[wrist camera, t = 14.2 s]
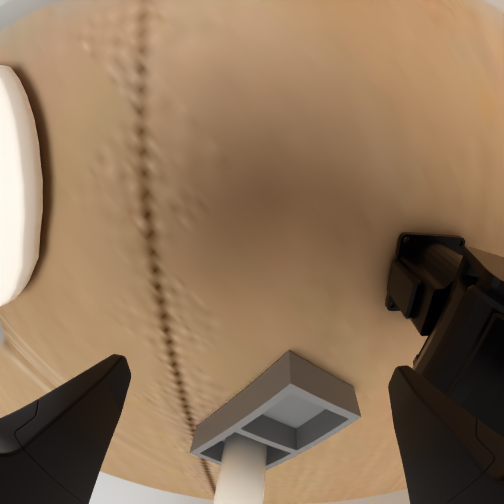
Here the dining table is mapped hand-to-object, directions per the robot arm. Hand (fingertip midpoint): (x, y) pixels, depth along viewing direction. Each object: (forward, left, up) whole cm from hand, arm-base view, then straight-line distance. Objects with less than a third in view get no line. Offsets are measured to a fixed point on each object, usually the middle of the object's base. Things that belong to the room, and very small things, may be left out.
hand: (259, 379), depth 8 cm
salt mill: (+1, +22, -12) cm, 25 cm away
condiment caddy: (-1, +19, -13) cm, 23 cm away
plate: (+32, -6, -13) cm, 35 cm away
